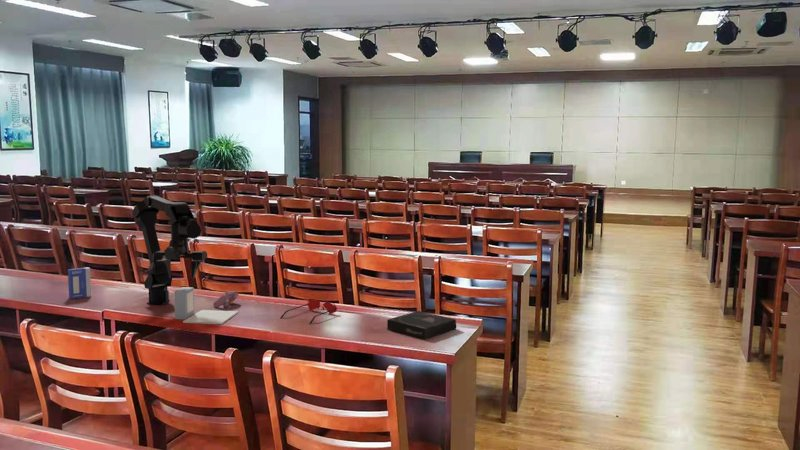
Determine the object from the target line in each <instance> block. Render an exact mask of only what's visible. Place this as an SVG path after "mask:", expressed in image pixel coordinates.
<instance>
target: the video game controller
mask: <svg viewBox="0 0 800 450" xmlns="http://www.w3.org/2000/svg"><path fill="white" fill-rule="evenodd" d="M238 296H239V293H238V292H237V291H236V290H227V291H225V293H223V294H221V296H219V298H218V299H217V300H215V301H214V302H213V307H214V308H219V307H222V306H223V307H227V306H228V305H232V304H233V303H234V301H235V300H237V298H238Z"/></svg>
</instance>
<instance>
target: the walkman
mask: <svg viewBox="0 0 800 450" xmlns="http://www.w3.org/2000/svg"><path fill="white" fill-rule="evenodd" d="M91 275H92V273H91V267H89V266H88V267H78V268H70V269H69V268H68V269H67V279H68V280H67V281H68V283H67V285H68V298H69V299H71V300H75V298H76V299H81V298H82V297H83V298H89V297H90V298H91V297H92V281H91V278H92V277H91Z"/></svg>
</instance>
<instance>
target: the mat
mask: <svg viewBox="0 0 800 450" xmlns="http://www.w3.org/2000/svg"><path fill="white" fill-rule="evenodd" d="M238 313H239V311H238V310H235V311H234V310H212V309H211V310H210V309H200V311H199V310H198V312H196V313H194V315H192V316H191V317H189V318H187V319H183V321H182V323H183V324H201V325H202V324H203V325H204V324H205V325H223V324H224V323H226V322H227V321H229V320H230V319H232V318H234V316H236V315H237V314H238Z"/></svg>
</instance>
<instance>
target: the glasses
mask: <svg viewBox="0 0 800 450" xmlns="http://www.w3.org/2000/svg"><path fill="white" fill-rule="evenodd" d="M321 302H324V303H322V307H321ZM306 306H307V307H308V310H310V311H312V310H316V309H320V308H321V309H322V310H326V311H325V312H321V313H318V314H316V315H315V316H313V317H312V319H311V321H310V322H309V323H308V324H309V325H311V324H312V323H313V322H314V320H315V318H316V317H319V316H321V315H324V314H327V313H328V314H330V315H332V314H334V313H336V312H337V310H338V309H339V308H338V307H337V306H336V304H335V303H334V302H331V301H328V300H321V299H315V298H308V300H307V304H303V305H302V304H301V305H300V306H297V307H294V308H290V309H288V310H286V311H285V312H283V314H282V315H281V316H280V318H279V320H280V319H282V318H283V317H284V316H285V315H286V314H287V313H288V312H289V311H293V310H297V309H299V308H302V307H306Z"/></svg>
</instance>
